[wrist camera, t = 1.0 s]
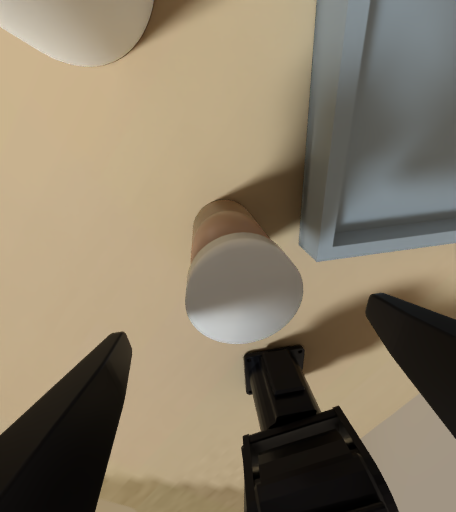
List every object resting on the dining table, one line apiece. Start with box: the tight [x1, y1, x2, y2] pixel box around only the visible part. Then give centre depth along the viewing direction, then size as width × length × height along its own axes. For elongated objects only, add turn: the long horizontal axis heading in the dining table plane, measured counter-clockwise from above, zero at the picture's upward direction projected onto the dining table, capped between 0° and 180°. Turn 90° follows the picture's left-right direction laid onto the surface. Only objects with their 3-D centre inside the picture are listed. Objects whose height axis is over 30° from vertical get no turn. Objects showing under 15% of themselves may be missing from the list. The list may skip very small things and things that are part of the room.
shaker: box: [185, 200, 303, 344], centre depth 12 cm, size 5×5×8 cm
